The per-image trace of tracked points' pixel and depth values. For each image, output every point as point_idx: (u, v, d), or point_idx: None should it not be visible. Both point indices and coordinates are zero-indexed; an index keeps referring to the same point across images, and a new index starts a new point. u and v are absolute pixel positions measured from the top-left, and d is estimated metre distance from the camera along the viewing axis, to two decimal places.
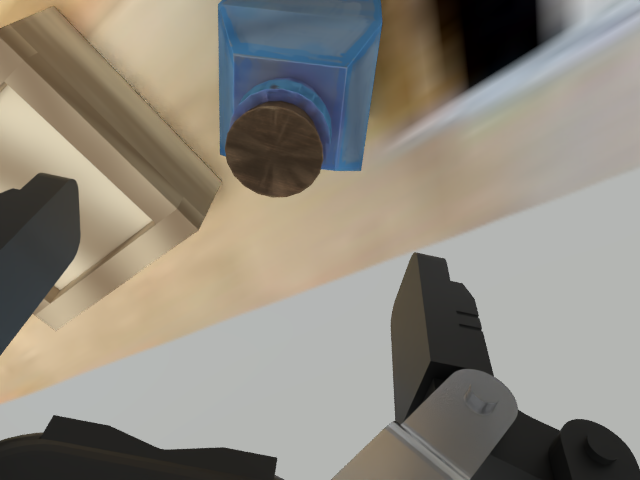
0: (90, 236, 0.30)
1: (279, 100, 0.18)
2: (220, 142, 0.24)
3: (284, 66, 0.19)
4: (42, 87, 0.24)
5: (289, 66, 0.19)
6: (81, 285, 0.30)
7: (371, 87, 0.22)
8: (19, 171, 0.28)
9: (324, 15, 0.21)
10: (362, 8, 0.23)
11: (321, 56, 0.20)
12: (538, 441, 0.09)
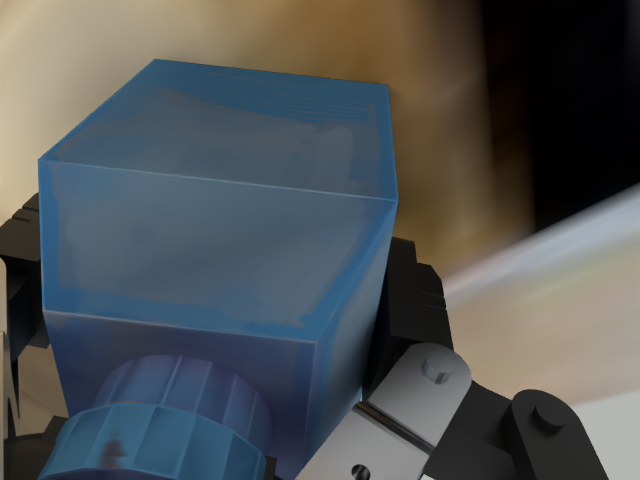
0: None
1: None
2: None
3: (166, 335, 0.08)
4: None
5: (179, 336, 0.08)
6: None
7: (374, 314, 0.11)
8: None
9: (271, 184, 0.09)
10: (355, 144, 0.11)
11: (257, 307, 0.08)
12: (492, 411, 0.10)
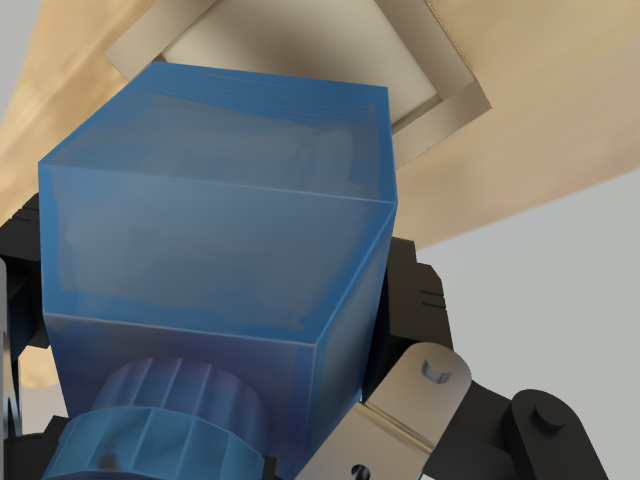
0: None
1: None
2: None
3: (165, 339, 0.08)
4: None
5: (179, 338, 0.08)
6: None
7: (373, 316, 0.11)
8: (281, 42, 0.24)
9: (271, 187, 0.10)
10: (355, 147, 0.11)
11: (257, 310, 0.08)
12: (492, 411, 0.10)
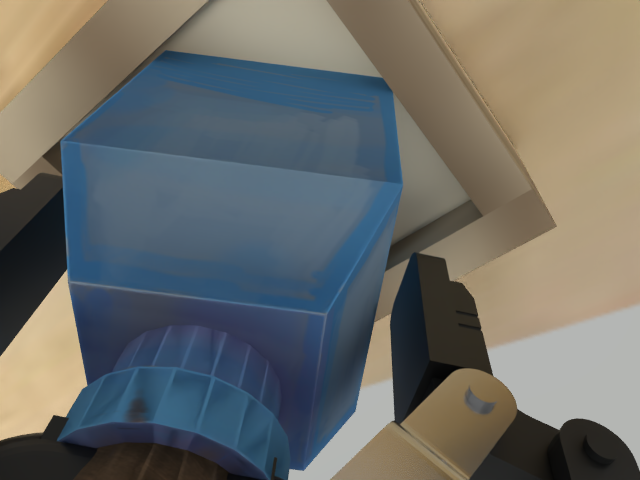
0: None
1: (150, 445, 0.07)
2: None
3: (184, 307, 0.09)
4: None
5: (196, 306, 0.09)
6: None
7: (377, 294, 0.11)
8: None
9: (282, 168, 0.10)
10: (361, 133, 0.12)
11: (270, 282, 0.09)
12: (537, 440, 0.09)
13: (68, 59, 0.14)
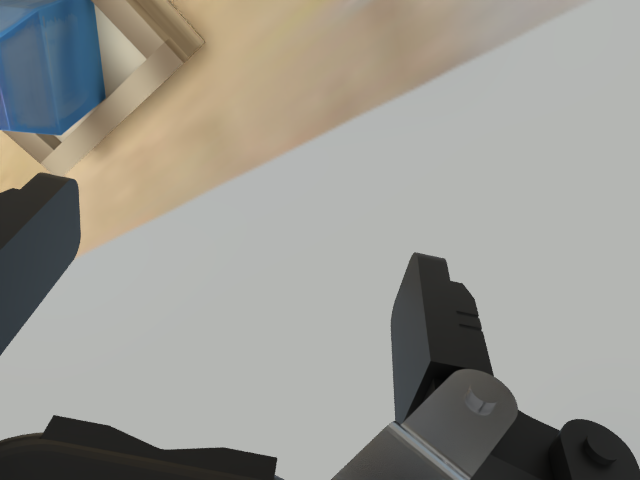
0: None
1: None
2: None
3: None
4: None
5: None
6: (81, 128, 0.34)
7: (45, 64, 0.27)
8: None
9: None
10: (43, 0, 0.27)
11: None
12: (538, 441, 0.09)
13: None
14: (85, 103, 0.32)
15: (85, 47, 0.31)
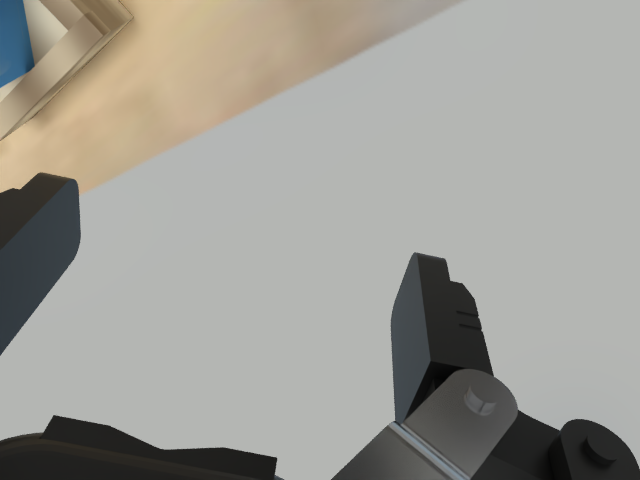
0: None
1: None
2: None
3: None
4: None
5: None
6: (11, 96, 0.36)
7: None
8: None
9: None
10: None
11: None
12: (538, 441, 0.09)
13: None
14: (10, 71, 0.33)
15: (8, 18, 0.33)
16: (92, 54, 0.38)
